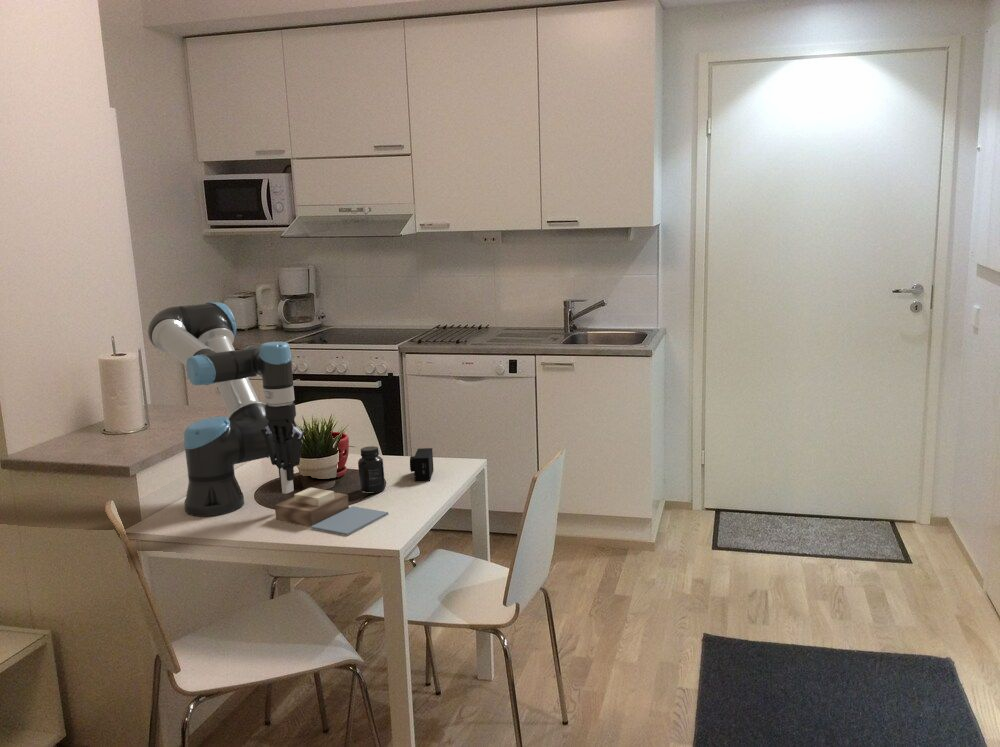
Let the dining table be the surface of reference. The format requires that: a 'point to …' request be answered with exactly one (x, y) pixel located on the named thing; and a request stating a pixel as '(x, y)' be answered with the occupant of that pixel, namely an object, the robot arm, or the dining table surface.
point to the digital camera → (422, 464)
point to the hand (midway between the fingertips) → (288, 491)
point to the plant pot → (342, 446)
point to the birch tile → (314, 496)
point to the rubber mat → (349, 520)
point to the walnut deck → (310, 510)
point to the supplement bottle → (371, 470)
